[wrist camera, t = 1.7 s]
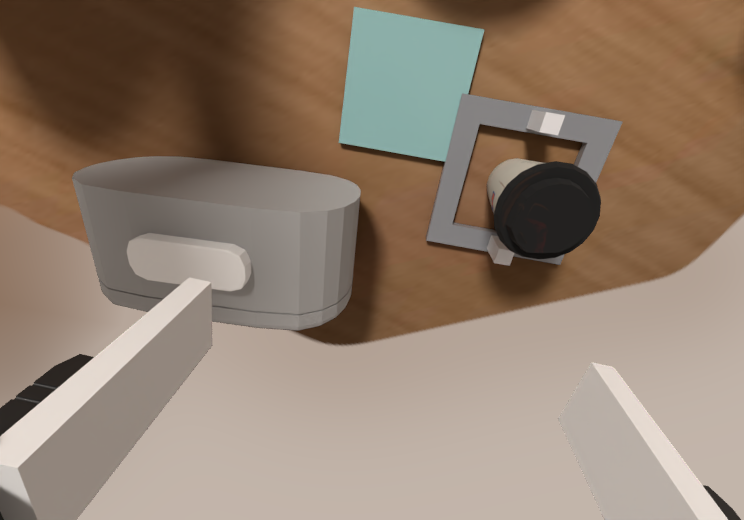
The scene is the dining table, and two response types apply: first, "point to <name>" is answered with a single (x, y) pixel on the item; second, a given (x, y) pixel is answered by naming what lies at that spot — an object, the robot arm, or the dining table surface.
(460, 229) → the collar
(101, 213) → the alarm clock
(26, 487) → the robot arm
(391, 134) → the coaster
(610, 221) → the dining table surface
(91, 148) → the dining table surface
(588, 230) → the coffee cup
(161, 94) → the dining table surface
